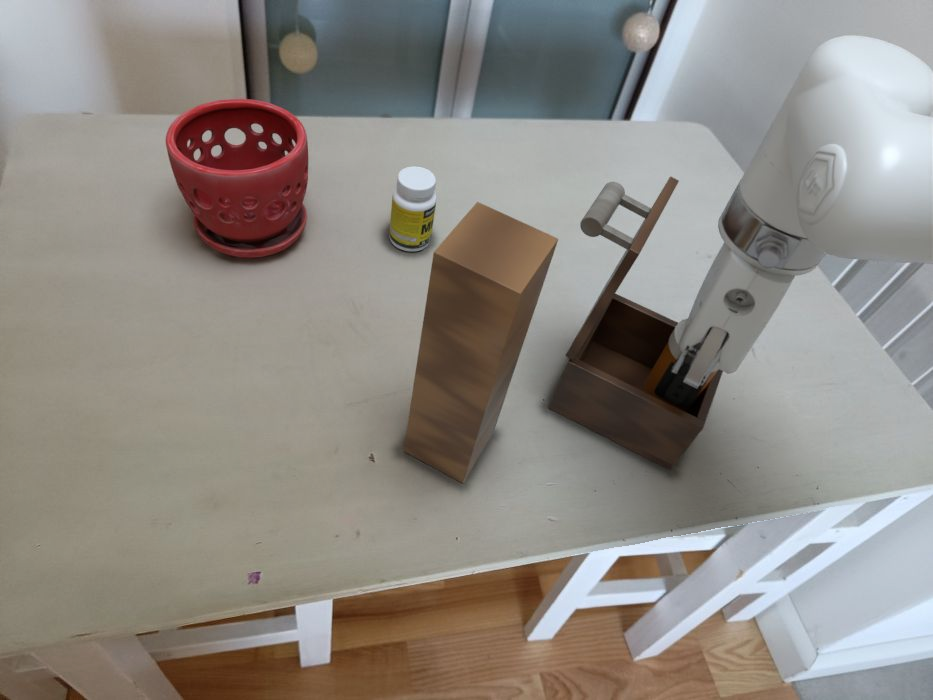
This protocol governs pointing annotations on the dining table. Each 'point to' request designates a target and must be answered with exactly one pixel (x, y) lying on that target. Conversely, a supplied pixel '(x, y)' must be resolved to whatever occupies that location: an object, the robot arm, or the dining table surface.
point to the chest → (629, 385)
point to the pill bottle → (670, 356)
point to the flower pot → (242, 176)
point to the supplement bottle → (413, 209)
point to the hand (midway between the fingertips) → (680, 376)
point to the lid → (597, 225)
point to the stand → (473, 335)
